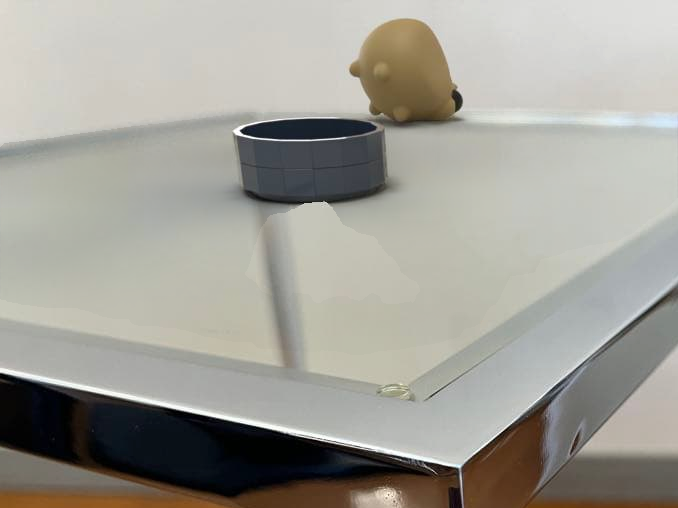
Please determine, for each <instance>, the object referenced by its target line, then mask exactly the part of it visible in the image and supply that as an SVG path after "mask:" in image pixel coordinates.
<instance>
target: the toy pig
mask: <svg viewBox="0 0 678 508" xmlns="http://www.w3.org/2000/svg"><path fill="white" fill-rule="evenodd" d="M348 72H349V74H350V75H351V76H352V77H354V78H358V79H359V82H360V84H361V88H362V89H363V91H364V93H365V95H366V96H367V98H368V99H369V101H370V102H369V106H368V111H369V113H370V115H372V116H380V115H381V114H383V115H385V116H386V117H388V118H390V119H391V120H394V121H397V122H399V123H407V122H415V121H419V120H420V121H421V120H422V121H423V120H424V121H445V120H447V119H449V118H452V116H454V115H455V113H458V112H459V111H460V110H461V109H462V107H463V105H464V99H463V96H462V94H461V93H460V92H459V91H458V90H457V89H458V85H457V84H456V83H454V82H453V80H452V76H451V73H450V68H449V63H448V61H447V58H446V54H445V52H444V50H443V48H442V46H441V43H440V41H439V40H438V37H437V35H436V34H435V33H434V31H433V30H432V28H431V27H430V26H429V25H428V24H427V23H425V22H423V21H422V20H419V19H415V18H407V17H405V18H396V19H391V20H388V21H386V22H384V23H381V24H380V25H378V26H376V27H375V28H374V29H373V30H372V31H370V33H369V34H368V35H367V37H366V38H365V40H364V41H363V43H361V46H360V49H359V52H358V56H357V59H356V60H355V61H353V62H352V63H351V64H350V65H349V67H348Z"/></svg>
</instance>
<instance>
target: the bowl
mask: <svg viewBox="0 0 678 508" xmlns="http://www.w3.org/2000/svg"><path fill="white" fill-rule="evenodd" d="M232 140H233V147H234V152H235V160H236V167H237V173H238V181H239V184H240V186H241V187H242V188H243V190H247V191H250V192H252V194H253V195H255V196H256V197H259V198H261V199H266V200H270V201H276V202H287V203H322V202H334V201H340V200H341V201H342V200H348V199H354V198H357V197H361V196H365V195H367V194H368V195H369V194H370V193H372V192H373V191H376V190H377V188H378V186H380V185H383V184H385V183H386V180H387V179H388V177H389V174H388V173H389V172H388V159H387V144H386V127H385V126H384V125H383V124H381V123H379V122H377V121H372V120H366V119H363V118H362V119H361V118H348V117H334V116H333V117H332V116H331V117H330V116H329V117H326V116H325V117H324V116H323V117H318V116H317V117H315V116H314V117H312V116H311V117H292V118H279V119H278V118H277V119H271V120H264V121H262V120H261V121H256V122H251V123H248V124H242V125H239V126H237V127H236V128H235V129H233V130H232Z"/></svg>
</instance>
